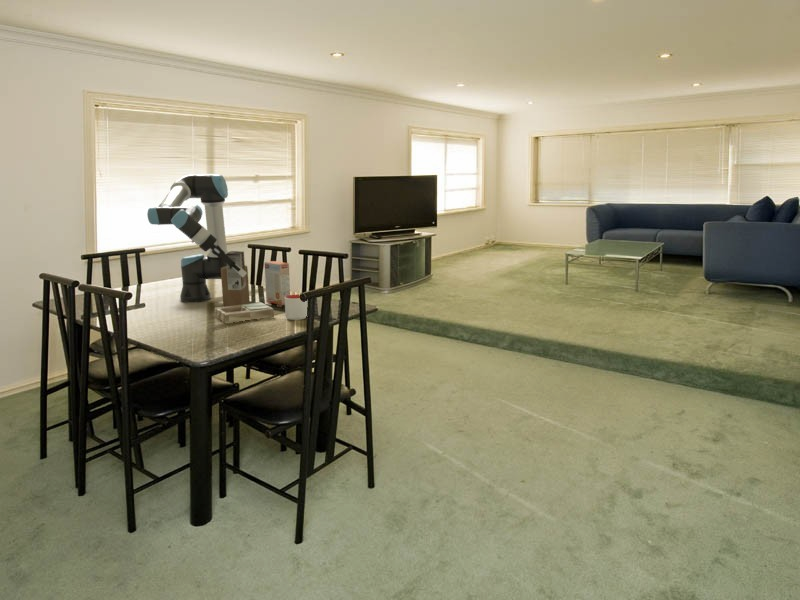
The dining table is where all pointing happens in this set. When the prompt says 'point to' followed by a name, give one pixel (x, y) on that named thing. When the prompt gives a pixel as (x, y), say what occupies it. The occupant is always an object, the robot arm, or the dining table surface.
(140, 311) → the dining table surface
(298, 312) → the cup
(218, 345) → the dining table surface
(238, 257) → the coffee box
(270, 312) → the hole board
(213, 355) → the dining table surface
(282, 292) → the cracker box
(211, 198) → the robot arm
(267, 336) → the dining table surface
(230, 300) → the wooden block
